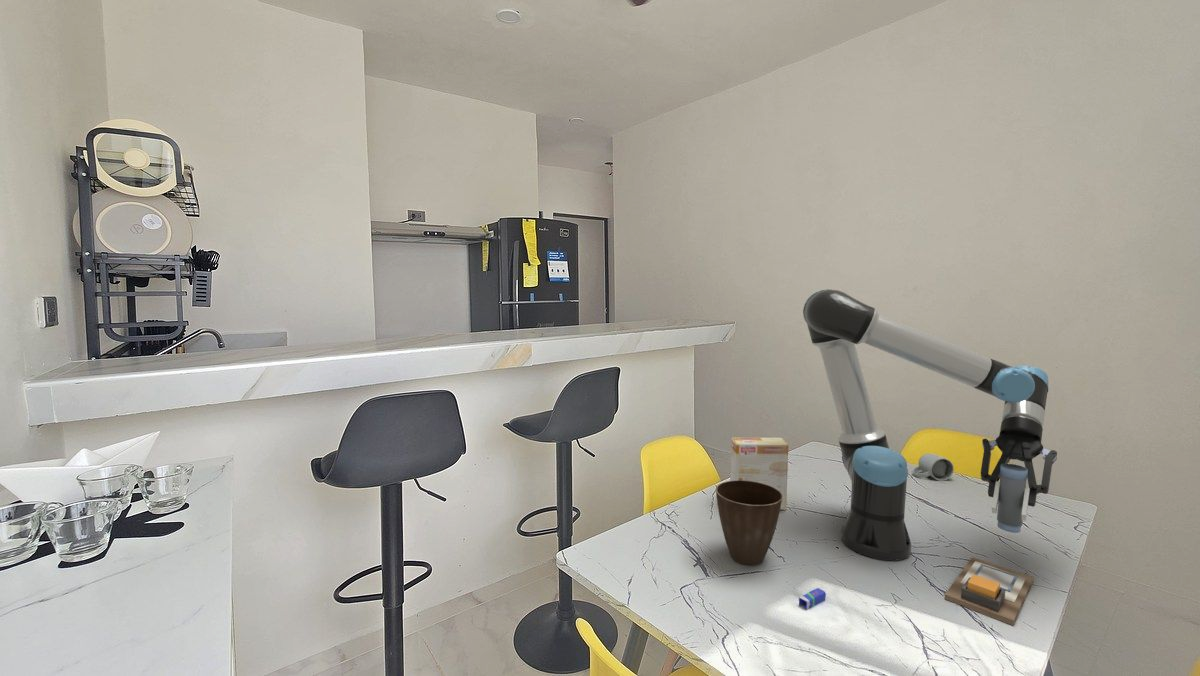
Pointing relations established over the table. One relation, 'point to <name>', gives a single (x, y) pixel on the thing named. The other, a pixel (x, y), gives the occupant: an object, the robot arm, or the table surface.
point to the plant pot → (748, 518)
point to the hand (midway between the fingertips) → (1008, 513)
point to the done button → (984, 586)
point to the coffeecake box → (761, 462)
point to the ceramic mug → (934, 467)
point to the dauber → (1011, 497)
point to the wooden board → (1010, 592)
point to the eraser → (812, 598)
